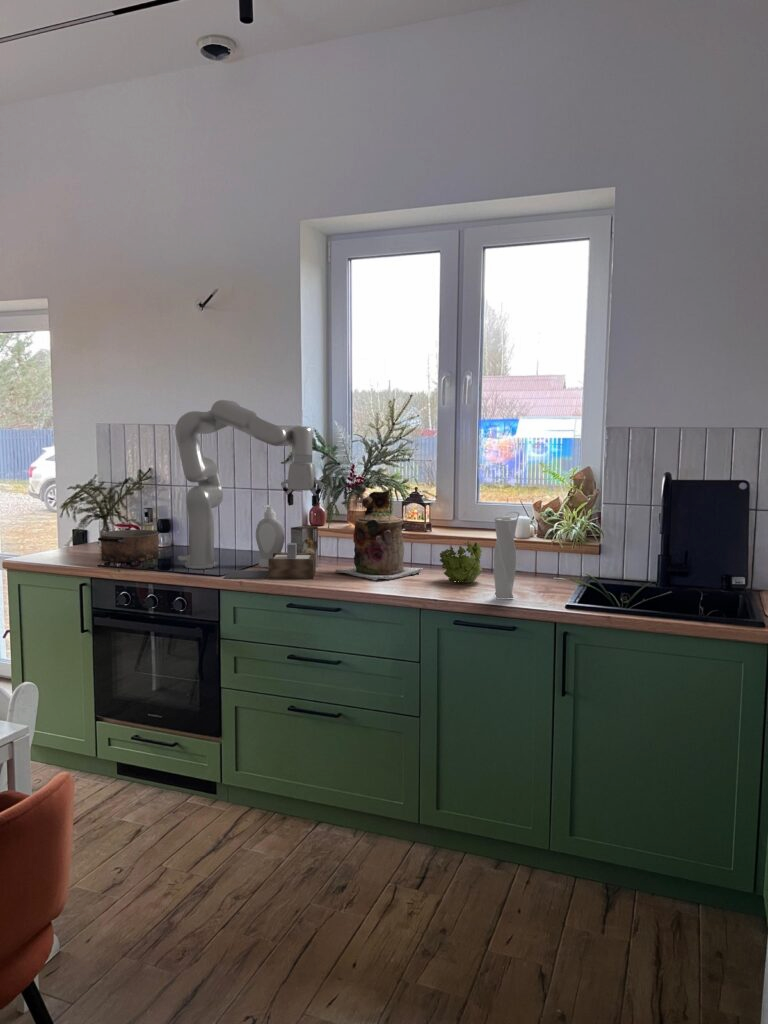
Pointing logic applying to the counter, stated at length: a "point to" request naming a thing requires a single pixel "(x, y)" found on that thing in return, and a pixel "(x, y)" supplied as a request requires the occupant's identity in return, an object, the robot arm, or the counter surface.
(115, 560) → the cooking pot
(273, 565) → the box
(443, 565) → the green rounded bumpy piece
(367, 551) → the rustic painted jar
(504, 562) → the white faceted vase
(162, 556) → the counter surface
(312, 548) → the coffee box
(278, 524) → the soap bottle
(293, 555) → the lid
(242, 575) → the mat
